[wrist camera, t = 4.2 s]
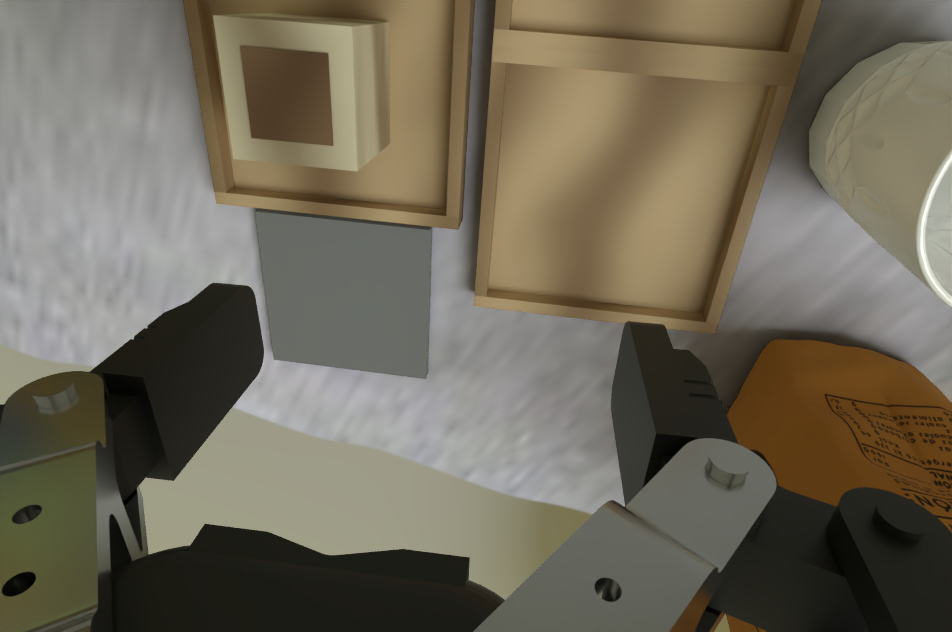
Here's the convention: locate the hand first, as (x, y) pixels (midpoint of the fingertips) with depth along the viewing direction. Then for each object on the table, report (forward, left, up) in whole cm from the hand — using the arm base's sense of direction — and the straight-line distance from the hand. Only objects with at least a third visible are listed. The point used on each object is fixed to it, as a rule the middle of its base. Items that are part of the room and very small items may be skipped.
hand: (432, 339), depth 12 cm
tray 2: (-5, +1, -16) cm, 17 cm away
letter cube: (+7, -3, -16) cm, 18 cm away
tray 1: (+7, -3, -16) cm, 18 cm away
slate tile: (+8, +8, -16) cm, 20 cm away
